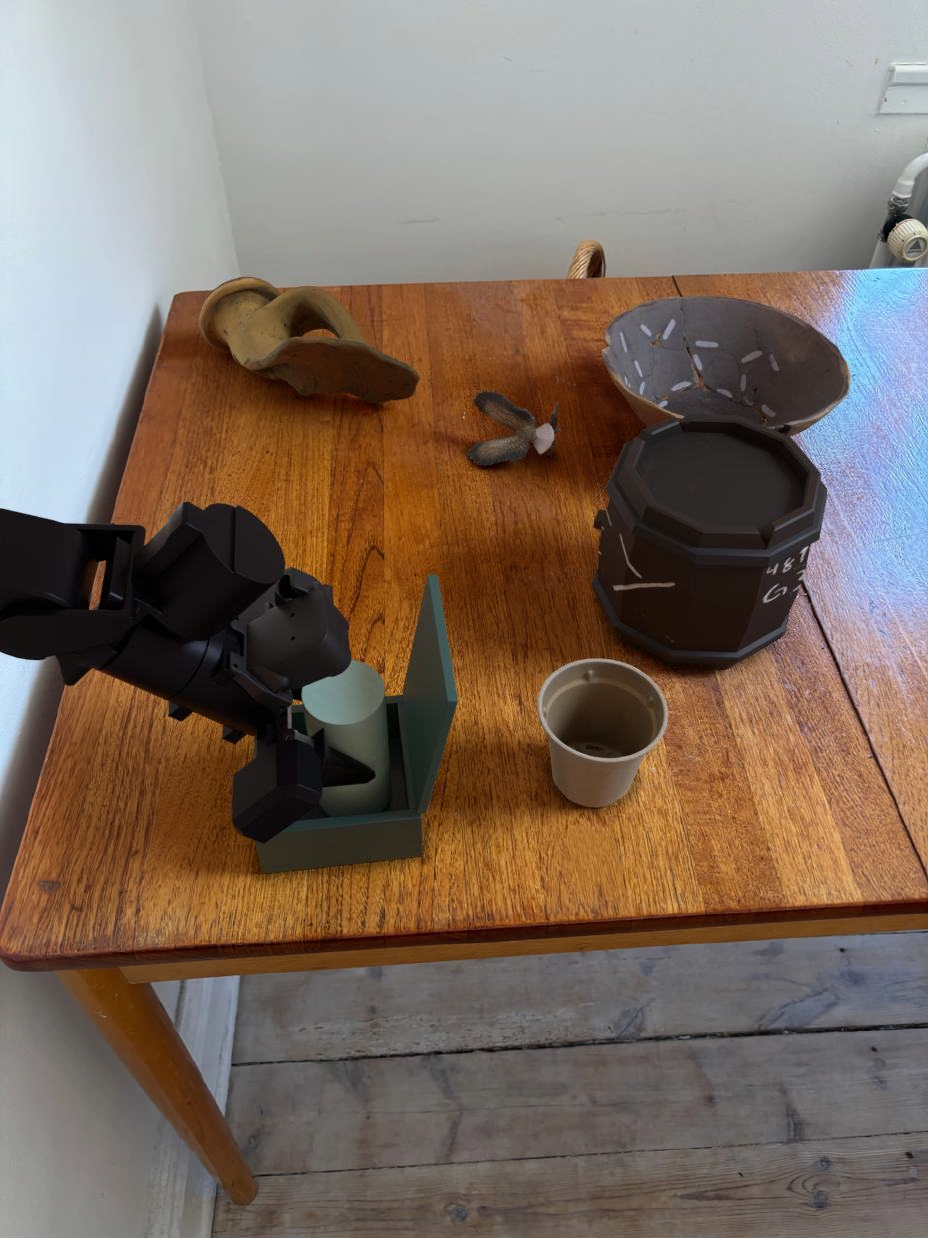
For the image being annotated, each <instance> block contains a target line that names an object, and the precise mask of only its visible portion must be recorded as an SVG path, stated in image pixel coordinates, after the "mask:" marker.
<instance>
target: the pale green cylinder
mask: <svg viewBox="0 0 928 1238" xmlns="http://www.w3.org/2000/svg"><path fill="white" fill-rule="evenodd" d="M386 696H387V695H386V686H385V682H384V679H383V677H382V676H381V674H380V673H379V672H378V671H377V670H376V669H375V668H374V667H372V666H370V665H369V664H367V663H365V662H362V661H358V660H353V659H351V663H350V665H349V667H348V668H347V669H346V670H345V671H344V672H343V673H341V674H340V675H337V676H335V677H326V678H324V679H322V680H319V681H317V682H314V683H312V684H309V685H307V686H304V687H302V693H301V697H302V702H301V704H303V710H304V716H305V723H306V729H307V735H308V737H309V738H310V737H311V736H312V735H314V734H315V733H316V732H318V731H319V730H320V729H321V728H324V729H325V732H326V738H327V744H328V745H329V746H330V747H332V748H334V749H336V750H338V751H340V752H342V753H344V754H346V755H348V756H350V757H352V758H354V759H355V760H357V761H359V762H361V763H363V764H365V765H366V766H368V767H369V768H371V769H372V770H373V771H375V773H376V777H375V778H374V779H373V780H371V781H370V782H368V783H366V784H357V785H346V786H336V787H325V788H322V796H321V798H320V800H319V804H320V806H321V808H322V809H323V810H324V812H325V813H327V814H328V815H329V816H330V817H332V818H333V817H342V816H352V815H361V814H370V813H380V812H382V810H383V809H384V808H385V807H386V806H387V804H388V802H389V800H390V797H391V790H392V787H391V772H390V757H389V741H388V726H387V711H386Z"/></svg>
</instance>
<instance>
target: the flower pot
mask: <svg viewBox="0 0 928 1238" xmlns="http://www.w3.org/2000/svg"><path fill="white" fill-rule="evenodd" d="M536 709H537V710H536V711H537V716H538V720H539V723H540V725H541V727H542V729H543V731H544V733H545V734H546V736H547V738H548V747H549V756H550V765H551V766H550V767H551V777H552V780H553V782H554V785H555V786H556V787H557V789H558V790H559V791H560V792H561V793H562V794H563V795H564V796H565V798H566V799H567V800H569V801H571V802H572V803H574V804H577V805H579V806H583V807H586V808H604V807H605V808H606V807H608V806H611V805H612V804H614V803H616V802H617V801H619V800H620V799H622V798H623V797H625V795H626V794H627V793H628V792H629V790H630V788H631V786H632V783H633V782H634V779H635V777H636V775H637V773H638V771H639V769H640V767H641V765H642V762H643V761H644V758H645V756H646V755H647V754H649V752H651V751H652V750H653V749H655V748H656V747H657V745H658V744H659V743H660V741H662V738H663V737H664V735H665V733H666V730H667V726H668V722H669V721H668V720H669V708H668V703H667V701H666V697H665V696H664V693H663V692H662V690H661V689H660V687H659V686H658V685H657V683H656V682H655V681H654V680H653V679H652V678H651V677H650V676H649V675H647V674H646V673H645V672H643V671H642V670H640V669H639V668H637V667H634V666H633V665H631V664H628V663H626V662H623V661H619V660H615V659H610V658H585V659H579V660H575V661H571V662H569V663H566V664H564V665H562V666H560V667H559V668H557V669H556V670H554V671H553V672H552V673H551V674H550V675H548V677H547V678H546V679H545V681H544V682H543V683H542V685H541V687H540V690H539V692H538V695H537V703H536ZM587 747H597V748H599V749H594V748H587Z"/></svg>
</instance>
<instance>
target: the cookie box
mask: <svg viewBox="0 0 928 1238" xmlns="http://www.w3.org/2000/svg"><path fill="white" fill-rule="evenodd" d="M386 711H387V726H388V741H389V757H390V772H391V787H392V790H391V797H390V800H389V802H388V804H387V806H386V807H385V808H384V809H383V810H382V812H380V813H370V814H361V815H352V816H342V817H333V818H332V817H330V816H329V815H328V814H327V813H325V812H324V810H323V809H322V808H321V806H320V804H319V803H318V805H317V806H316V807H315V808H314V809H312V810H311V811H309V812H308V813H307V814H305V815H304V816H303V817H301V818H300V819H298V820H297V821H296V822H294V823H293V824H291V825H290V826H289V827H287V828H286V829H284V830H283V831H282V832H280V833H279V834H277V835H276V836H275V837H273V838H272V839H270V840H269V841H268V842H266V843H265V844H263V843H260V842H258V841H255V840H253V841H254V844H255V848H256V852H257V855H258V860H259V863H260V866H261V871H262V873H263V874H264V875H266V874H274V873H275V874H276V873H284V872H292V871H293V872H294V871H301V870H311V869H317V868H318V869H319V868H320V869H321V868H326V867H327V868H328V867H336V866H347V865H356V864H364V863H365V864H366V863H372V862H381V861H391V860H399V859H400V860H401V859H409V858H410V859H411V858H417V857H419V858H420V857H423V856H424V847H423V843H424V842H423V818H422V814H417V811H416V803H415V794H414V786H413V777H412V768H411V760H410V751H409V743H408V734H407V725H406V717H405V708H404V700H403V694H395V695H386ZM291 723H292V728H293V729H295V730H297V731H298V733H300V734H302V735H305V736H307V737H308V735H307V729H306V723H305V716H304V710H303V704H302V703H301V704H292V705H291ZM255 757H257V742H255V741H254V740H253V759H254V758H255Z"/></svg>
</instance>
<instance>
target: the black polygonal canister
mask: <svg viewBox="0 0 928 1238" xmlns="http://www.w3.org/2000/svg"><path fill="white" fill-rule="evenodd" d="M613 467H614V468H613V470H612V472H611V474H610V477H609V479H608V482H607V483H606V487H605V492H606V493H607V495H608V497H609V499H608V503H607V507H606V509H603V508H599V509H598V510H597V512H596V515H595V517H594V520H593V525H592V528H593V529H595V530H599V531H600V536H599V542H598V550H597V568H596V571H595V573H594V576H593V578H592V580H591V586H592V591H593V593H594V594H595V596H596V599H597V600H598V602H599V605H600V607H602V610H603V612H604V613H605V615H606V617H607V619H608V621H609V623H610V625H611V627H612V629H613V631H614V632H615V634H616V635H617V636H618V639H619V640H620V642H621V643H623V644H625V645H626V646H629V647H630V648H632V649H634V650H636V651H637V652H640V653H641V654H643V655H645V656H646V657H649V658H650V659H652V660H654V661H656V662H658V663H660V664H662V665H663V666H665V667H667V668H669V669H692V670H693V669H696V670H720V671H721V670H722V671H723V670H725V671H727V670H729V669H730V668H732V667H733V666H735V665H737V664H739V663H740V662H742V661H744V660H746V659H748V658H749V657H751V656H753V655H755V654H756V653H758V652H759V651H761V650H763V649H766V648H767V647H768V646H770V645H771V644H773V643H775V642H777V641H779V640H780V639H781V638H783V637H784V635H785V634H786V631H787V627H788V622H789V617H790V611H791V609H792V607H793V606H794V604H795V601H796V600H797V596H798V593H799V590H800V587H801V585H802V582H803V579H804V577H805V574H806V570H807V564H808V559H809V555H810V550H811V545H812V544H814V543H816V542H818V541H819V540H820V538H821V533H822V532H821V531H822V527H823V521H824V516H825V511H826V505H827V500H828V499H827V498H828V487H827V486H826V485H825V484H824V482H823V481H822V472H821V471H820V470H819V468H817V466H816V465H815V464H814V463H813V461H812V460H811V459H810V458H809V457H808V455H807V454H806V453H805V452H804V451H803V450H802V449H801V447H800V446H799V444H797V442H795V440H794V439H793V438H792V436H791V437H789V436H787V435H784V434H782V433H780V432H777V431H775V430H772V429H770V428H767V427H765V426H763V425H760V424H758V423H755V422H753V421H750V420H748V419H746V418H743V417H741V416H738V415H708V414H687V415H686V416H685V417H684V418H683V419H681V420H680V421H678V420H677V418H676V417H675V416H674V417H672V418H669V419H667V420H665V421H662V422H660V423H658V424H655V425H653V426H651V427H646V428H643V429H642V430H641V431H640V433H639V434H638V435H637V436H634V438H633V439H632V440H629V441H627V442H625V443H624V444H623V446H622V448H621V451H620V453H619V455H618V457H617V460H616V462H615V465H614V466H613Z"/></svg>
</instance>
